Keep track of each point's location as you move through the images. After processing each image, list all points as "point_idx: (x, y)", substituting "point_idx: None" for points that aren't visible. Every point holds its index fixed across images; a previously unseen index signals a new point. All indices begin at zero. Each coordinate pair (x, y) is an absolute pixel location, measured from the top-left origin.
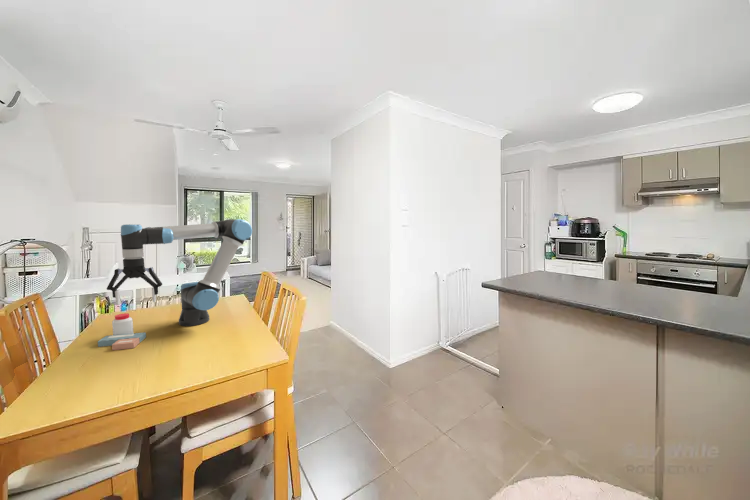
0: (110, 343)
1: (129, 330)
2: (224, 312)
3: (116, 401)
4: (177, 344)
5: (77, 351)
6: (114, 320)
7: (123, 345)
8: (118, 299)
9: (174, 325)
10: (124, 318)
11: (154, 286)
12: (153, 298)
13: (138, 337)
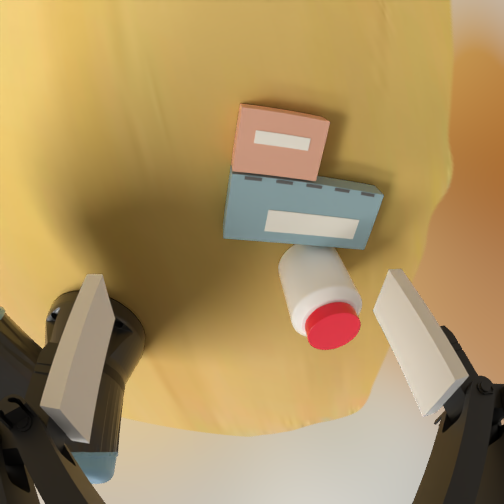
0: (340, 182)
1: (291, 268)
2: None
3: None
4: (64, 90)
5: (422, 169)
6: (356, 303)
7: (283, 112)
8: (404, 315)
9: (152, 316)
10: (321, 308)
11: (27, 431)
12: (82, 301)
13: (237, 178)
